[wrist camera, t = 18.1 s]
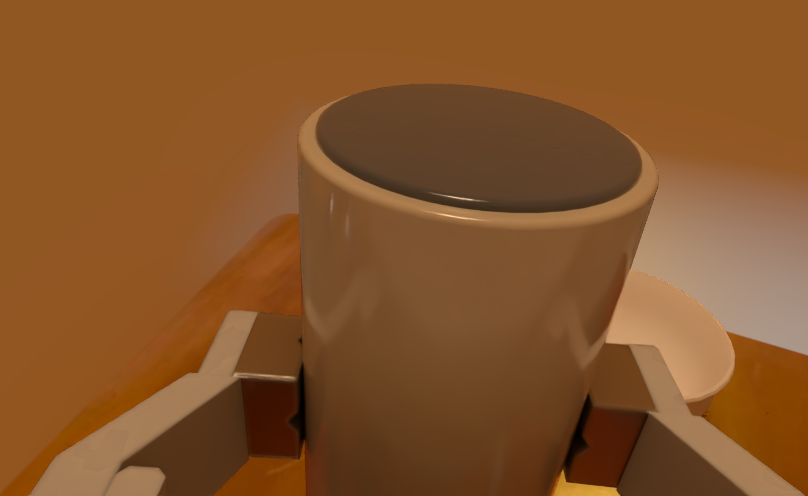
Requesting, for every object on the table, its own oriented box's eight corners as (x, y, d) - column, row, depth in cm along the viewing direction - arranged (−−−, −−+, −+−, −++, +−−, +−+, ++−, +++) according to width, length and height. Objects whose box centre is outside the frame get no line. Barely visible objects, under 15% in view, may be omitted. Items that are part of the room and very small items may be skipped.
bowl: (483, 453, 41) (502, 371, 37) (499, 317, 54) (514, 245, 50) (720, 506, 39) (769, 425, 35) (675, 350, 52) (706, 279, 48)
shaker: (378, 756, 10) (442, 259, 5) (274, 543, 13) (240, 95, 8) (557, 611, 12) (741, 165, 7) (433, 459, 15) (492, 67, 10)
